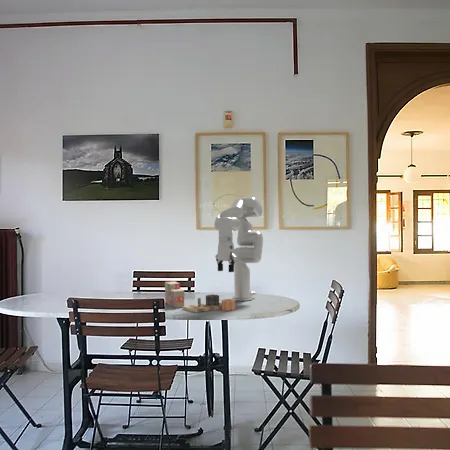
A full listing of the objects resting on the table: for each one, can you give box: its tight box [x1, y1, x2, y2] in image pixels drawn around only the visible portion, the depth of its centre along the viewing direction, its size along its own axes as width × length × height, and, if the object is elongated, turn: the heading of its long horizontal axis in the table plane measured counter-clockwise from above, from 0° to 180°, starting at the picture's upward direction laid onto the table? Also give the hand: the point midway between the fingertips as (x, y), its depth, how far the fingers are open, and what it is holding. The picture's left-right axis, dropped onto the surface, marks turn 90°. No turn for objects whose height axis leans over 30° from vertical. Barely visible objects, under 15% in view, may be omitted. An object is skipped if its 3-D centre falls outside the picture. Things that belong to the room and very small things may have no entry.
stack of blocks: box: [164, 280, 185, 309], centre depth 278 cm, size 21×6×12 cm, turn 20°
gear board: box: [182, 294, 222, 313], centre depth 263 cm, size 22×13×7 cm, turn 128°
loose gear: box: [221, 298, 236, 311], centre depth 259 cm, size 7×7×5 cm
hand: (225, 271), depth 260 cm, fingers open, 9 cm apart
